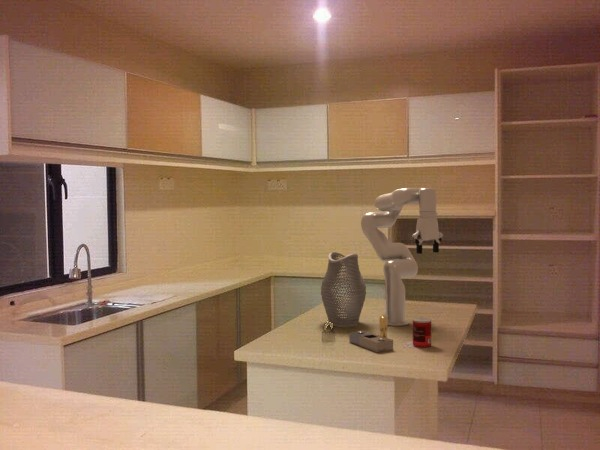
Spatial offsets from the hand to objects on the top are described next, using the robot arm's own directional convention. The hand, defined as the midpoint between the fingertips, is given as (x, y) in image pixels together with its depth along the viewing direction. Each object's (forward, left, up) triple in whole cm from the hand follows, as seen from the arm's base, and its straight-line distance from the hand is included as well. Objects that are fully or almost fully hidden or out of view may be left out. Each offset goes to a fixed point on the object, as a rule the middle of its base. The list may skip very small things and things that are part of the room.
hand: (427, 252), depth 263 cm
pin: (0, -25, -37) cm, 44 cm away
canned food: (+16, -17, -37) cm, 44 cm away
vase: (-37, -22, -37) cm, 57 cm away
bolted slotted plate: (+6, -36, -37) cm, 52 cm away
